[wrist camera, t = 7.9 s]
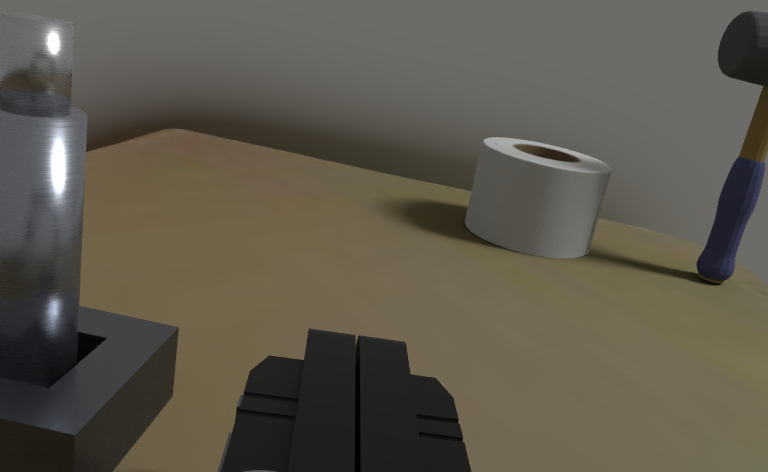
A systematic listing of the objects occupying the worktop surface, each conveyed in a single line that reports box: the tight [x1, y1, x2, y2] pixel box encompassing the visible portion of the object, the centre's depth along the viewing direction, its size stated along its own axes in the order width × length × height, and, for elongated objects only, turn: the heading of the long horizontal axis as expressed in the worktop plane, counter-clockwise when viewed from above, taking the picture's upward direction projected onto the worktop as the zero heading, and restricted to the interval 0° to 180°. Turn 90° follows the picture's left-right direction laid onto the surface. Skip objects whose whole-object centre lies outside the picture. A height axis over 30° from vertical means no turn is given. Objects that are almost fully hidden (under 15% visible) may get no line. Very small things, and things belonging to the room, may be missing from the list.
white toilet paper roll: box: [465, 137, 612, 259], centre depth 86 cm, size 16×15×11 cm
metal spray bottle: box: [0, 12, 87, 388], centre depth 33 cm, size 4×4×18 cm
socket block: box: [0, 306, 179, 472], centre depth 36 cm, size 11×11×4 cm
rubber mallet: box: [697, 11, 768, 283], centre depth 78 cm, size 12×8×30 cm, turn 92°
